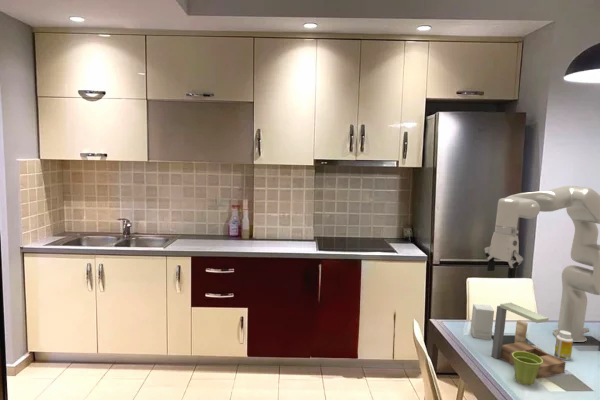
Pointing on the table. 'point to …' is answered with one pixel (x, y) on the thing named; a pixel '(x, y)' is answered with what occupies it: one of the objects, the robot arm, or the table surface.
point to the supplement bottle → (563, 345)
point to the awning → (501, 324)
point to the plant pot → (526, 367)
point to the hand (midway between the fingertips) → (500, 274)
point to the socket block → (550, 362)
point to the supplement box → (482, 321)
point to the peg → (521, 331)
